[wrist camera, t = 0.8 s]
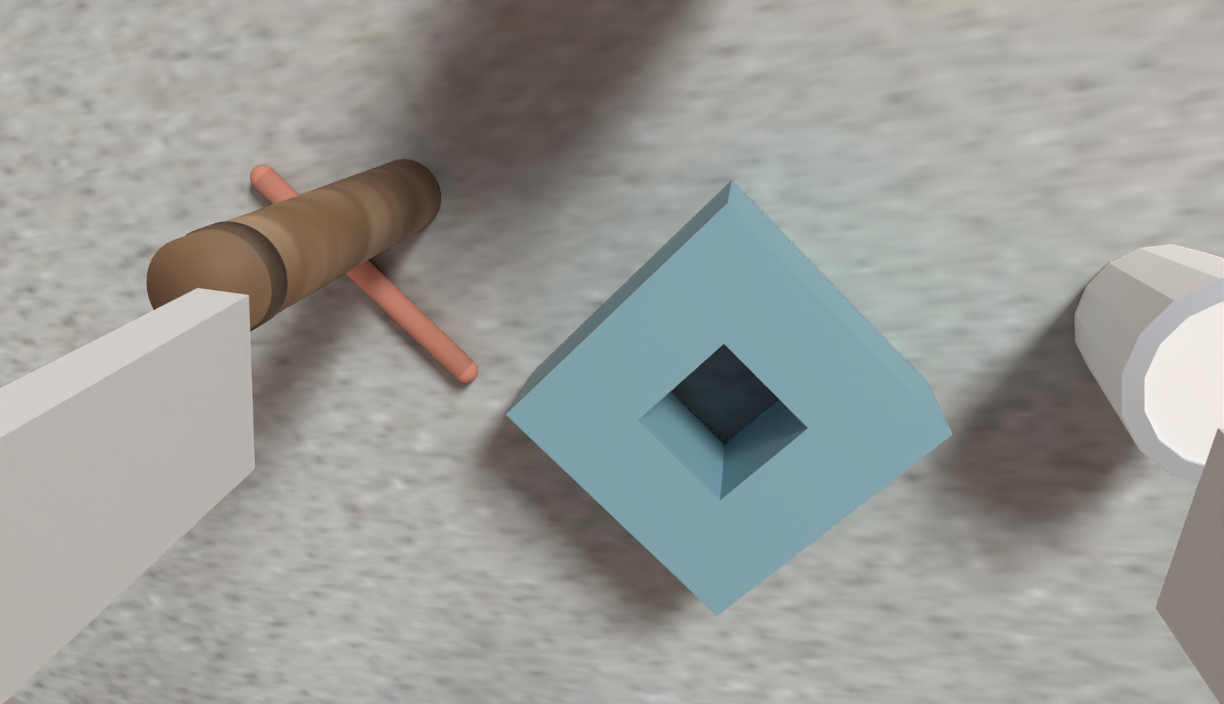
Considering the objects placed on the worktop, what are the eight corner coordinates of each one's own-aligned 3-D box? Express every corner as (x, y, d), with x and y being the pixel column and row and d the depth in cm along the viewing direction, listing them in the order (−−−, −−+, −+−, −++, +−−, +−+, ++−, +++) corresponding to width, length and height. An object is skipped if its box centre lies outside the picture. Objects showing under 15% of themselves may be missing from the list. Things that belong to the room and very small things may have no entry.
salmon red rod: (253, 176, 39) (240, 179, 38) (267, 158, 38) (255, 161, 38) (470, 382, 40) (463, 391, 39) (485, 367, 40) (479, 375, 39)
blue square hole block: (535, 369, 40) (505, 414, 35) (731, 180, 36) (727, 202, 31) (722, 548, 41) (716, 616, 36) (928, 383, 37) (952, 434, 33)
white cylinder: (1078, 427, 37) (1146, 513, 31) (1036, 261, 35) (1098, 314, 29) (1273, 376, 36) (1389, 456, 29) (1238, 200, 34) (1353, 242, 27)
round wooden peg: (357, 194, 38) (123, 290, 24) (402, 142, 38) (186, 210, 23) (410, 246, 39) (210, 370, 25) (457, 195, 38) (276, 294, 24)
